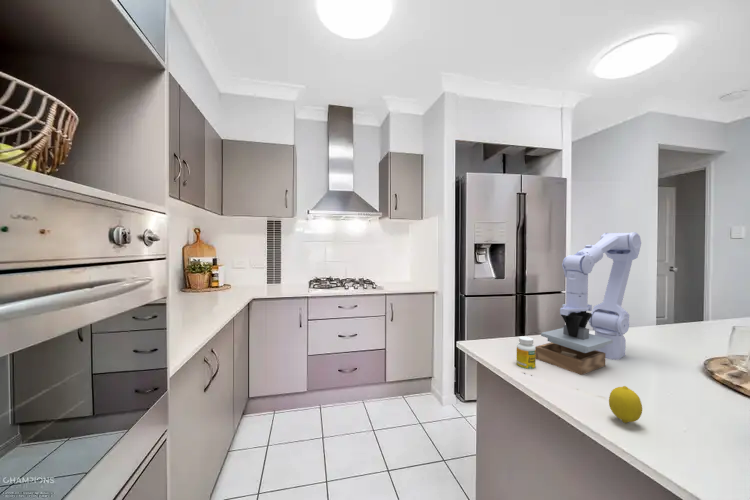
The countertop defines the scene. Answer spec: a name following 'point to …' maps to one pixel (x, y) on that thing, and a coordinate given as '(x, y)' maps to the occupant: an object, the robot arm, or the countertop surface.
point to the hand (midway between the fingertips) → (575, 335)
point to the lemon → (625, 404)
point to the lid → (577, 339)
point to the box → (570, 358)
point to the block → (569, 354)
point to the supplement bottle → (526, 353)
